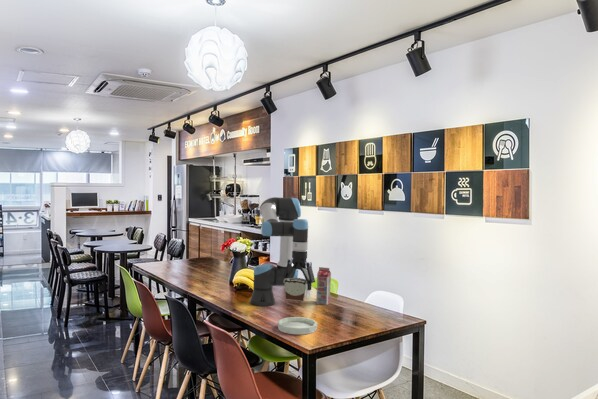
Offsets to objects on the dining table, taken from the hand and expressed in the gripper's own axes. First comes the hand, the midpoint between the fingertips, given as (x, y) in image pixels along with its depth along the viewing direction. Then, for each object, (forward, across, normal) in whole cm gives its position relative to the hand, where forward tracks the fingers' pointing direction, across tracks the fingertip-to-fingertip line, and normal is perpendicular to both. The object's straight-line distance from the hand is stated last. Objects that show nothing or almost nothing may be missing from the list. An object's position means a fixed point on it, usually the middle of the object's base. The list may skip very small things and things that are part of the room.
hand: (298, 294), depth 213 cm
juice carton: (+17, -23, +51) cm, 58 cm away
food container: (+3, -1, 0) cm, 3 cm away
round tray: (+17, 0, 0) cm, 17 cm away
